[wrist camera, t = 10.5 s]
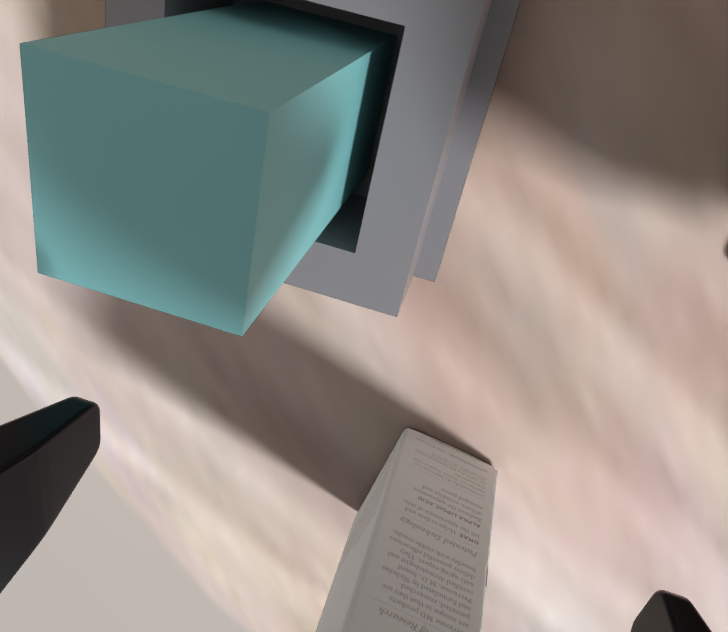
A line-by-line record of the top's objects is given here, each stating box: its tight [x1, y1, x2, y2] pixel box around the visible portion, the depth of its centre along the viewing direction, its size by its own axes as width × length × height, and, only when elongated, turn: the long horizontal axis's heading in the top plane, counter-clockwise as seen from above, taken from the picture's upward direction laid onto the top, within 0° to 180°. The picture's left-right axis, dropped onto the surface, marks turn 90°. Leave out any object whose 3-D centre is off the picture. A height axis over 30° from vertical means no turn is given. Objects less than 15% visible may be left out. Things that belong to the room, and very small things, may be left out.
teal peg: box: [20, 0, 397, 336], centre depth 15 cm, size 4×4×10 cm
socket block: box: [105, 0, 520, 317], centre depth 18 cm, size 10×10×5 cm
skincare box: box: [316, 428, 498, 632], centre depth 22 cm, size 6×4×12 cm
